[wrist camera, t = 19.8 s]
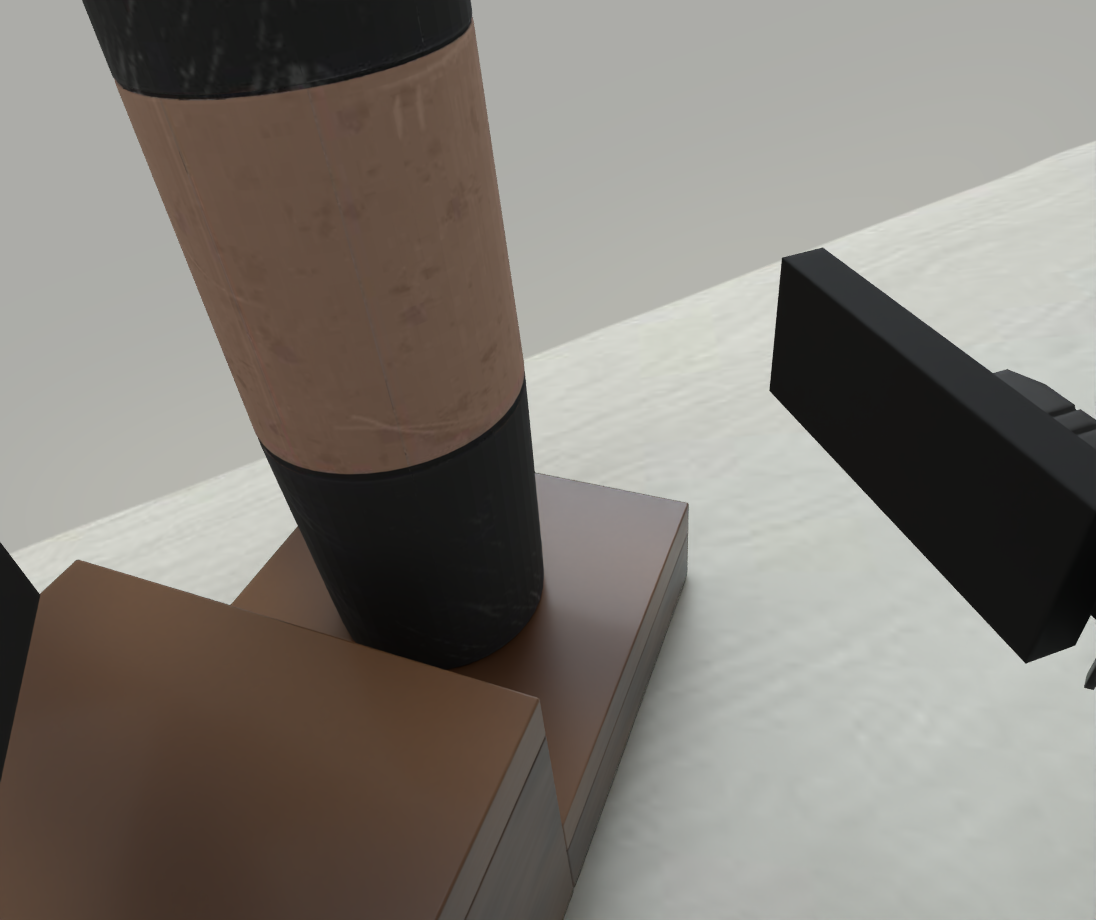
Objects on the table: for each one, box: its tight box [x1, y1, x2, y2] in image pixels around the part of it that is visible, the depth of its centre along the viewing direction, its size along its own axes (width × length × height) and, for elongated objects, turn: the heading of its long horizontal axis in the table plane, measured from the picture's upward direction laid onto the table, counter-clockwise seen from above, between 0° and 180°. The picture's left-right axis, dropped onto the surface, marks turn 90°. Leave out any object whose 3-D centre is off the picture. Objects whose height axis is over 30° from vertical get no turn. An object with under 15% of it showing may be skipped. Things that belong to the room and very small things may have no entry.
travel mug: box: [82, 0, 544, 670], centre depth 22 cm, size 8×8×20 cm
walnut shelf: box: [0, 473, 689, 920], centre depth 25 cm, size 22×14×10 cm, turn 158°
